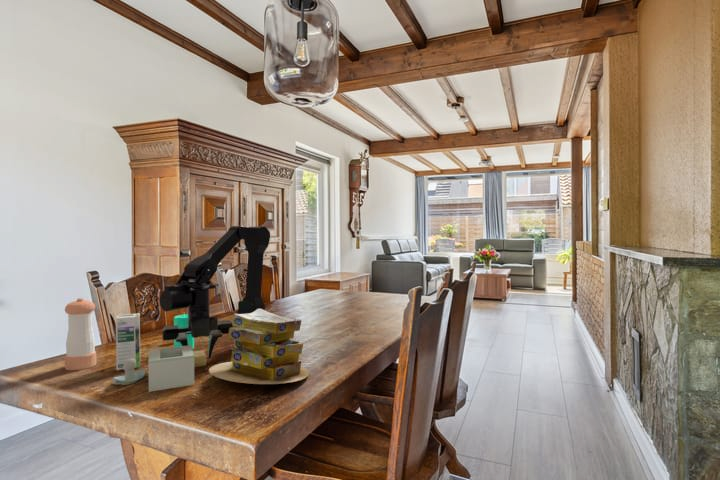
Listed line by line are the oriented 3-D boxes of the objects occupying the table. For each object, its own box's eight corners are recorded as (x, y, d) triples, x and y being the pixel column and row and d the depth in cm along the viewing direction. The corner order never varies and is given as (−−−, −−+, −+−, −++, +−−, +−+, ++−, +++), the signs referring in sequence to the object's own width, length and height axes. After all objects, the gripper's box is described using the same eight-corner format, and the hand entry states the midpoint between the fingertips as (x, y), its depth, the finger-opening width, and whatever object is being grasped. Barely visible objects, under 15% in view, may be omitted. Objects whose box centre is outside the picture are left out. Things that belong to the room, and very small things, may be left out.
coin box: (191, 371, 108) (191, 345, 107) (194, 384, 99) (194, 355, 99) (149, 377, 103) (149, 350, 103) (148, 391, 94) (148, 361, 94)
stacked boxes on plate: (269, 356, 121) (269, 302, 121) (327, 376, 105) (327, 312, 105) (191, 379, 102) (190, 315, 102) (246, 407, 86) (246, 330, 86)
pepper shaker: (68, 363, 114) (68, 297, 114) (98, 360, 117) (98, 295, 117) (61, 372, 107) (60, 301, 107) (93, 368, 110) (92, 299, 110)
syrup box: (115, 371, 108) (115, 317, 108) (117, 364, 114) (117, 313, 113) (139, 367, 111) (139, 315, 111) (140, 361, 116) (139, 312, 116)
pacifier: (106, 384, 99) (118, 389, 96) (106, 359, 99) (117, 363, 96) (136, 376, 105) (148, 380, 102) (136, 352, 105) (148, 355, 102)
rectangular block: (203, 360, 118) (203, 350, 118) (206, 366, 113) (206, 355, 113) (191, 361, 117) (191, 351, 117) (194, 367, 112) (194, 357, 112)
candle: (186, 351, 126) (186, 313, 126) (170, 350, 127) (169, 312, 127) (198, 346, 132) (197, 310, 132) (181, 345, 133) (181, 309, 133)
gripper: (162, 313, 103) (163, 373, 104) (237, 307, 112) (237, 363, 112) (162, 306, 113) (162, 361, 114) (230, 301, 122) (230, 352, 122)
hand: (199, 359), depth 115 cm, fingers open, 5 cm apart
